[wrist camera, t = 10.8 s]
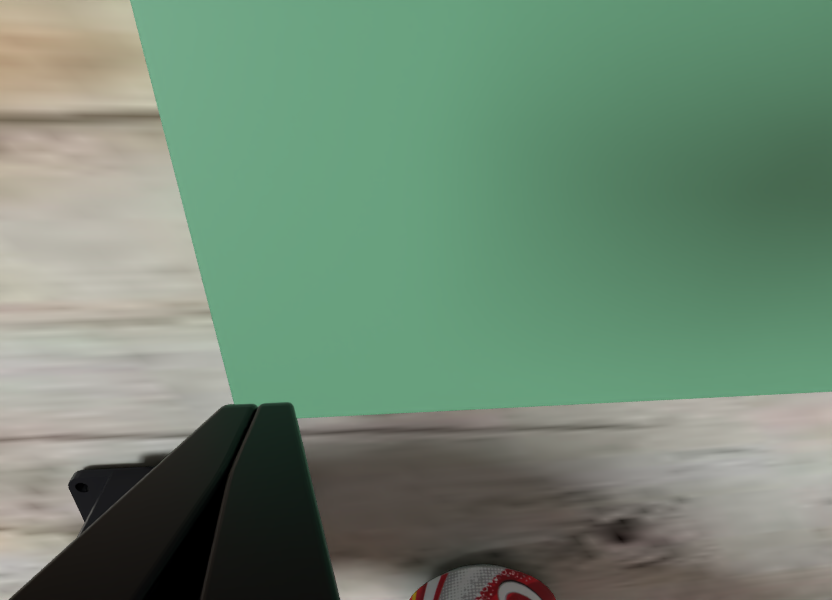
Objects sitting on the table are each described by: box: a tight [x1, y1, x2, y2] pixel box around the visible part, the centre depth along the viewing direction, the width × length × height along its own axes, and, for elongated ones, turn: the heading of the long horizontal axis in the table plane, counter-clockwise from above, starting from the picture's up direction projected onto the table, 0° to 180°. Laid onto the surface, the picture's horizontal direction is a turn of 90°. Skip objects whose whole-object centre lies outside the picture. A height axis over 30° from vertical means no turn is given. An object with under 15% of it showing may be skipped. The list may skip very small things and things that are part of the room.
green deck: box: [130, 0, 832, 418], centre depth 16 cm, size 13×26×4 cm, turn 93°
